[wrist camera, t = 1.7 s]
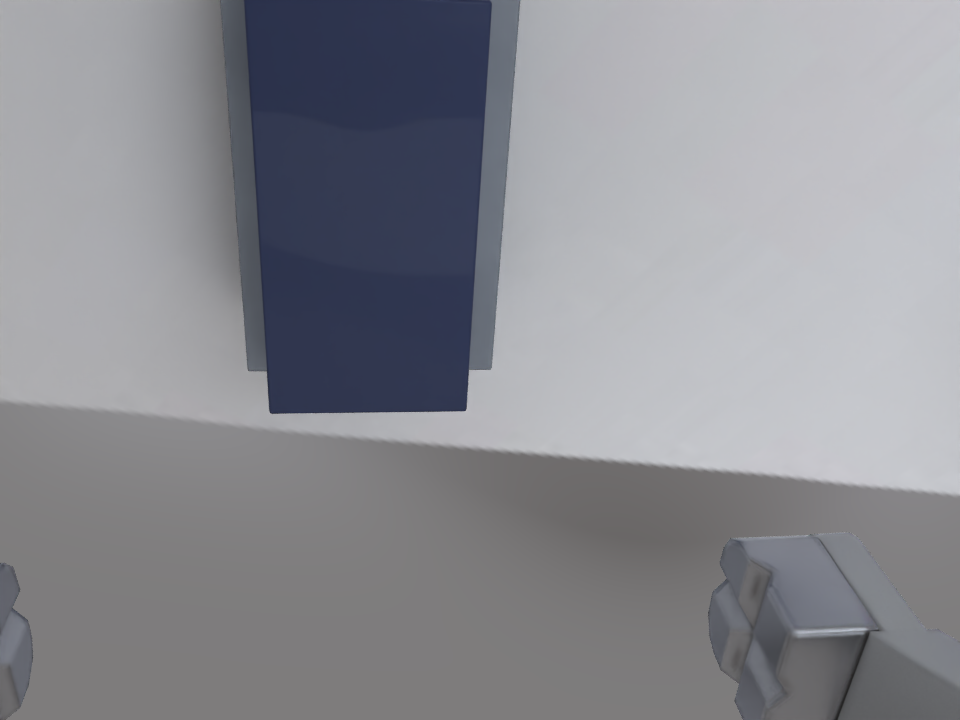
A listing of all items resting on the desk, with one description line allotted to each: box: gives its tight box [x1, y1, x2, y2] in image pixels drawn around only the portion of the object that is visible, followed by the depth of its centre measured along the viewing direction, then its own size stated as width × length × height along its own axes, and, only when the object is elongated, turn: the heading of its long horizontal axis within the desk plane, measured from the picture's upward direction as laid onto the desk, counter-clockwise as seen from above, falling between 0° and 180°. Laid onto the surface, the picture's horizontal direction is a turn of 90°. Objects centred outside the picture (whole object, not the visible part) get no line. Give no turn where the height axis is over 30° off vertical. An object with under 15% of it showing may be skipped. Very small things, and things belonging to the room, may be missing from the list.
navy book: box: [244, 0, 492, 414], centre depth 22 cm, size 10×5×2 cm, turn 176°
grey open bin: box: [220, 0, 520, 371], centre depth 25 cm, size 11×7×5 cm, turn 176°
